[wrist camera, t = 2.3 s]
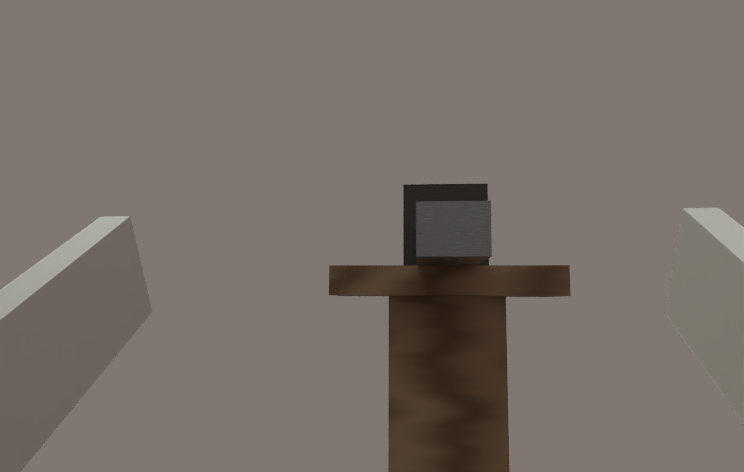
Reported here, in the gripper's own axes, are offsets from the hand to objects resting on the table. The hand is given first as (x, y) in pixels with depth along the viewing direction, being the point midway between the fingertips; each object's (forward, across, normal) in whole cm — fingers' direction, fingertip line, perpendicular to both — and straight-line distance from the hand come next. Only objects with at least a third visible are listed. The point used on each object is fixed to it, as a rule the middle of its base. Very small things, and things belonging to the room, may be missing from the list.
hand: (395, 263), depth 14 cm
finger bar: (+22, +2, -11) cm, 25 cm away
